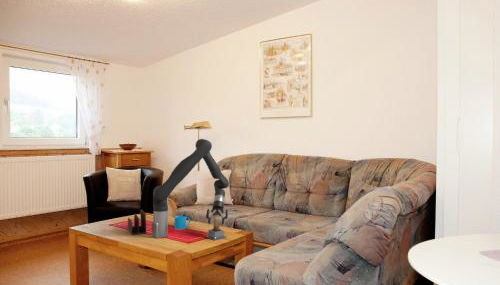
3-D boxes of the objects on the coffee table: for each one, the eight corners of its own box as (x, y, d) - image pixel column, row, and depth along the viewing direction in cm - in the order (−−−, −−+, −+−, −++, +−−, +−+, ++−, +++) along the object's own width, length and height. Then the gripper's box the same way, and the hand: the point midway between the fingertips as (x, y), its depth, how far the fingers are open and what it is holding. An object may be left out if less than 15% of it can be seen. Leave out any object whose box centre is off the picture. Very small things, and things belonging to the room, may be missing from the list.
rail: (215, 237, 244) (215, 215, 244) (212, 236, 247) (212, 215, 247) (219, 236, 247) (220, 215, 247) (216, 235, 249) (217, 214, 249)
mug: (177, 230, 266) (177, 218, 266) (172, 227, 272) (172, 216, 272) (192, 227, 273) (192, 216, 273) (187, 225, 280) (187, 214, 280)
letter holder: (141, 227, 273) (141, 208, 272) (146, 234, 255) (146, 213, 254) (127, 228, 268) (127, 209, 268) (131, 235, 250) (131, 214, 250)
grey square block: (214, 240, 240) (214, 232, 240) (205, 237, 247) (205, 229, 247) (226, 237, 246) (226, 230, 246) (217, 234, 254) (217, 227, 254)
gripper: (207, 199, 254) (204, 220, 243) (228, 200, 253) (226, 220, 242) (209, 206, 260) (205, 226, 249) (229, 206, 259) (227, 227, 248)
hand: (215, 223), depth 245 cm, fingers open, 8 cm apart
